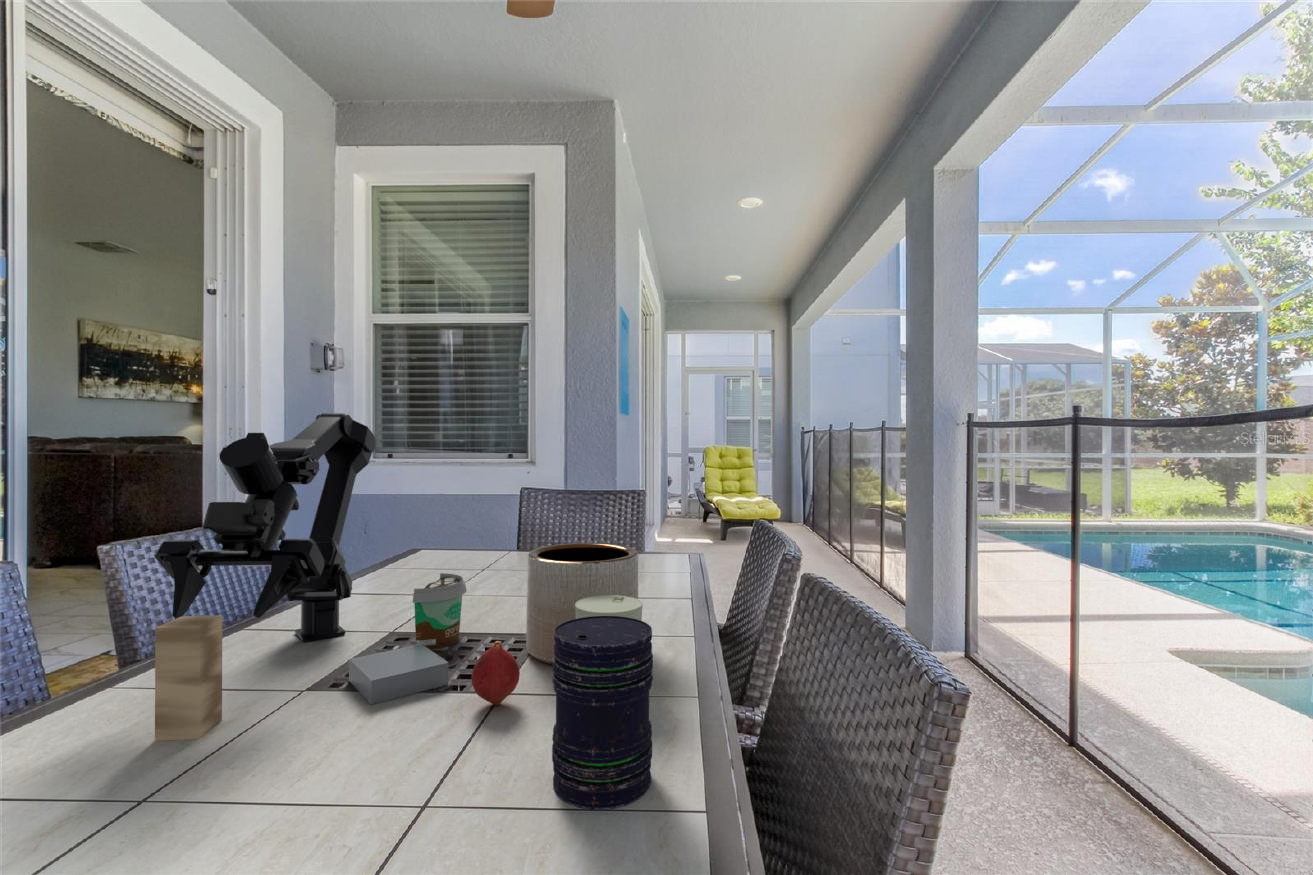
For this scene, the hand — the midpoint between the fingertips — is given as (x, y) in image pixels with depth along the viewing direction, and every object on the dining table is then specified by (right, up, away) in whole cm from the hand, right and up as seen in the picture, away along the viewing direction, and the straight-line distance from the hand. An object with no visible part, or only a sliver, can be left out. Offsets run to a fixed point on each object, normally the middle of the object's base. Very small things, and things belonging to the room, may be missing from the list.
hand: (216, 617), depth 77 cm
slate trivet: (+19, -12, +9) cm, 24 cm away
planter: (+42, -12, +23) cm, 50 cm away
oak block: (0, -12, -5) cm, 13 cm away
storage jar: (+49, -12, -15) cm, 52 cm away
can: (+47, -12, +8) cm, 50 cm away
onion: (+34, -12, +3) cm, 36 cm away
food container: (+19, -12, +27) cm, 35 cm away
